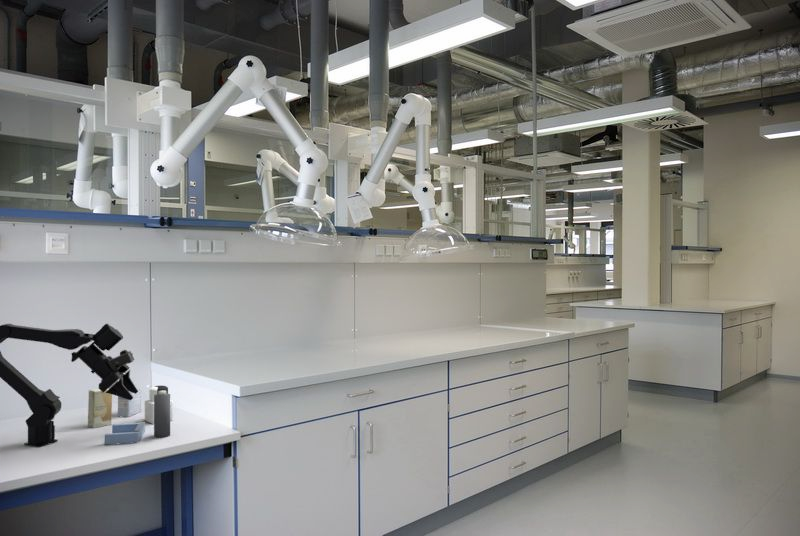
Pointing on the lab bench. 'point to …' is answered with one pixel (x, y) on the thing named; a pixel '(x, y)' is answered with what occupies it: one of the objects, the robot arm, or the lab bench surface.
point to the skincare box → (99, 408)
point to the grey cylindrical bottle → (161, 414)
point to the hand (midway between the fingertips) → (134, 395)
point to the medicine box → (129, 405)
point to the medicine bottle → (150, 403)
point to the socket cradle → (125, 433)
